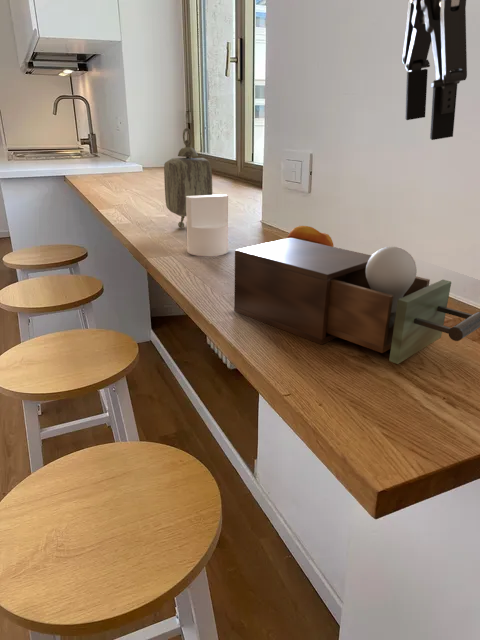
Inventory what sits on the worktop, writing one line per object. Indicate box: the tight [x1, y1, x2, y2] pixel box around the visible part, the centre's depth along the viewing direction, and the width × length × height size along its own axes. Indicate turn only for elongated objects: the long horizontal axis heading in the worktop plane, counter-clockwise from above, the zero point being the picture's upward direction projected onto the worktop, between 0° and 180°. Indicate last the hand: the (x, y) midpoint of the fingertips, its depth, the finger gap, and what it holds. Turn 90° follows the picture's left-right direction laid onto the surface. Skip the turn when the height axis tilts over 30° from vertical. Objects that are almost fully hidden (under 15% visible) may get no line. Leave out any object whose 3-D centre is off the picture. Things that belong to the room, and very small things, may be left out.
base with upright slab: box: [186, 193, 229, 257], centre depth 108 cm, size 9×9×12 cm
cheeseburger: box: [286, 225, 335, 247], centre depth 94 cm, size 10×11×10 cm
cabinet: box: [233, 237, 373, 346], centre depth 73 cm, size 17×13×10 cm
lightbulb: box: [366, 246, 418, 328], centre depth 63 cm, size 6×6×11 cm
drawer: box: [326, 268, 480, 365], centre depth 63 cm, size 21×11×8 cm, turn 44°
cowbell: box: [163, 127, 213, 229], centre depth 129 cm, size 14×9×25 cm, turn 22°
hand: (427, 127), depth 70 cm, fingers open, 10 cm apart
